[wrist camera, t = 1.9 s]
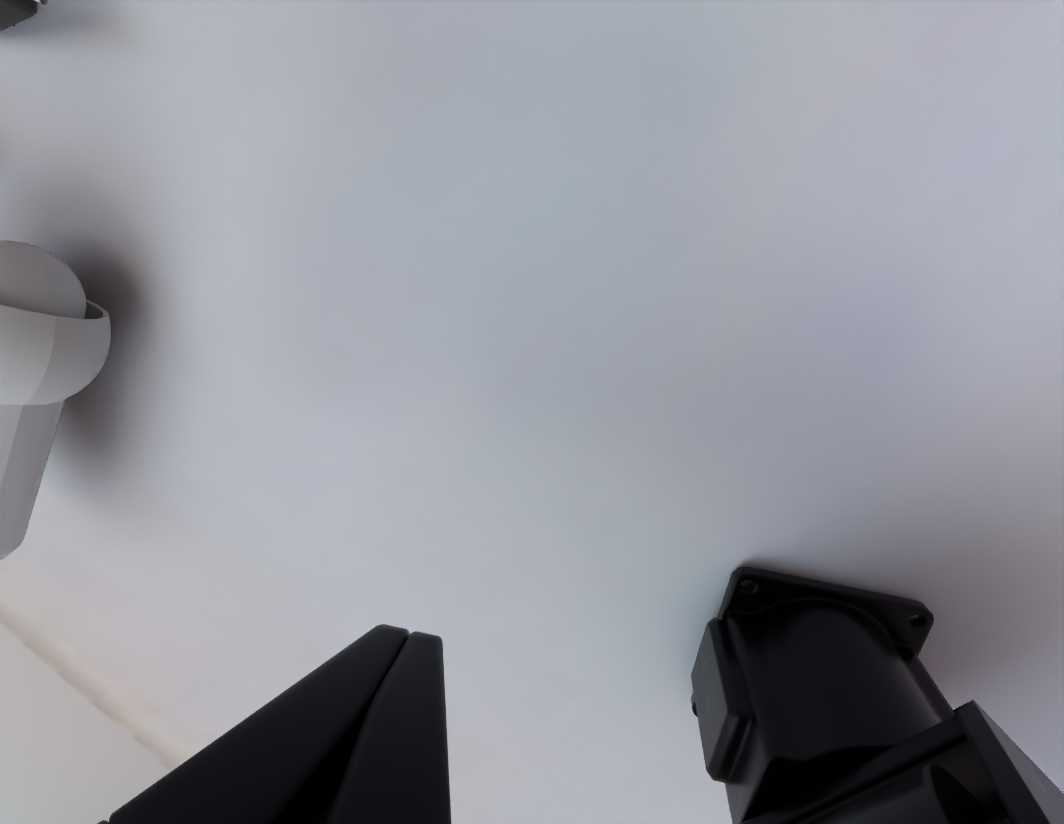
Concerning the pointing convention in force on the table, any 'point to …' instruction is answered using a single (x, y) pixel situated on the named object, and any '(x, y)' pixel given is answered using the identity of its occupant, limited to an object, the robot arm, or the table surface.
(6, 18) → the clip-on lamp
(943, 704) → the robot arm
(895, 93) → the table surface
